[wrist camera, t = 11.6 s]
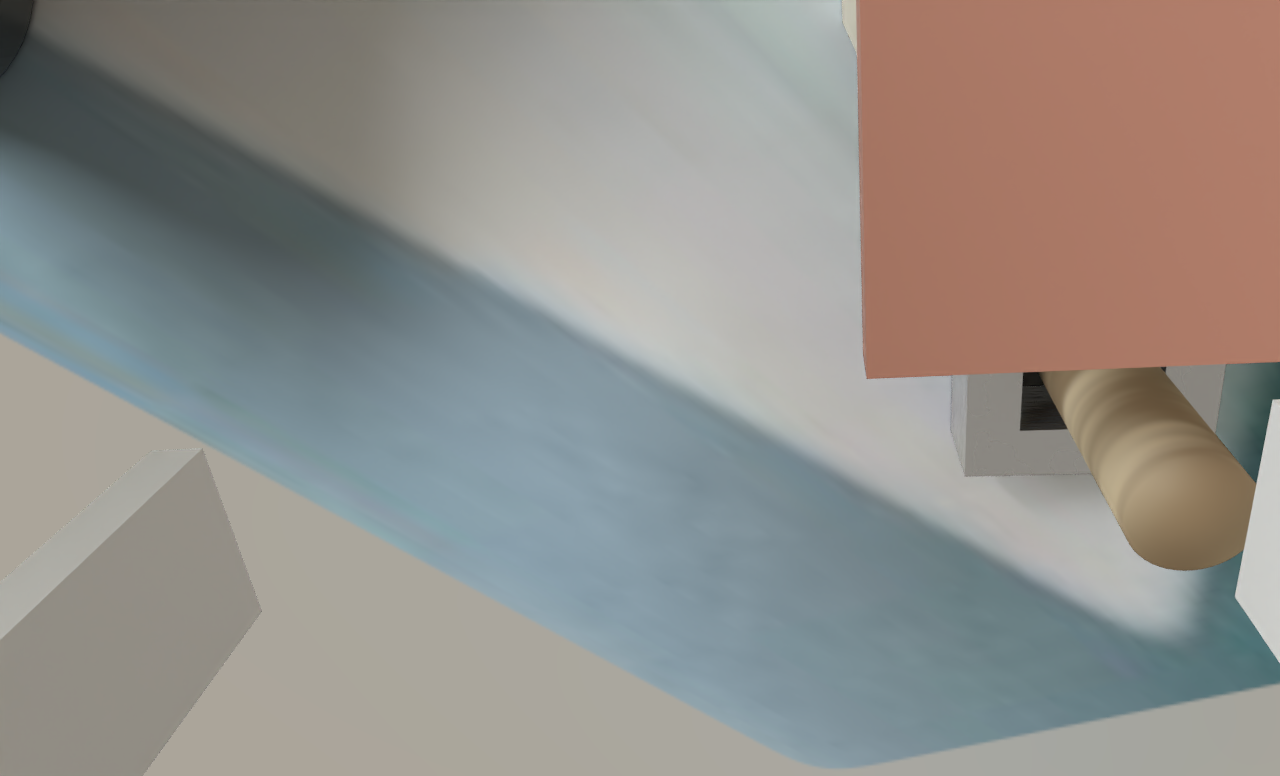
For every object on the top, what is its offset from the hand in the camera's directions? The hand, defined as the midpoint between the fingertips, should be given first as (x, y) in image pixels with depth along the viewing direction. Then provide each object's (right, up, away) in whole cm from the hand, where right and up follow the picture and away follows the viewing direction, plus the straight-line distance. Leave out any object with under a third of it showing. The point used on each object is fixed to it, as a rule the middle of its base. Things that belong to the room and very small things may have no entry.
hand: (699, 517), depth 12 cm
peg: (+17, +4, +27) cm, 32 cm away
